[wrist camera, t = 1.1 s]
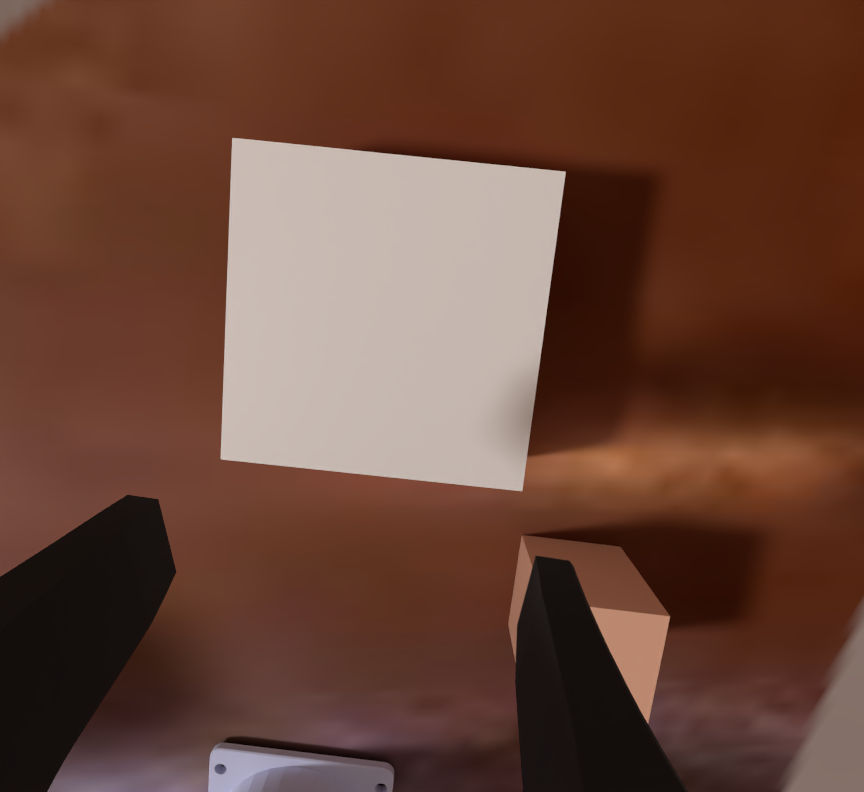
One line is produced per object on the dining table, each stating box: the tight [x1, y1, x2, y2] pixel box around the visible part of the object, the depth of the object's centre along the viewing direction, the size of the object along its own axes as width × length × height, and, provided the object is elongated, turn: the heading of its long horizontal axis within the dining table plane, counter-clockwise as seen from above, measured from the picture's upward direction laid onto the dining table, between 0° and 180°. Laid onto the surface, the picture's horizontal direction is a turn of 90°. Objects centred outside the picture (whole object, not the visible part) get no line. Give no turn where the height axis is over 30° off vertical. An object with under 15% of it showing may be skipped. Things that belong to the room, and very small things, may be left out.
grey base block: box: [221, 138, 566, 491], centre depth 19 cm, size 10×10×4 cm
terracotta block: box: [508, 535, 670, 723], centre depth 20 cm, size 4×4×5 cm
